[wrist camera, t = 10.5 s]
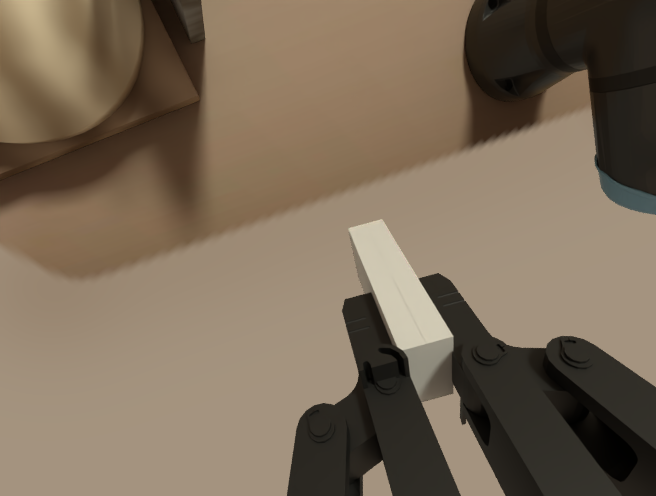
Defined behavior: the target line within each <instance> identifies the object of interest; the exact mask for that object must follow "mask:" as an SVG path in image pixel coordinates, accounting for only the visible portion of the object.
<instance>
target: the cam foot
mask: <svg viewBox="0 0 656 496" xmlns="http://www.w3.org/2000/svg"><path fill="white" fill-rule="evenodd" d="M144 43H145V28H144V19H143V12H142V7H141V3H140V0H0V142H4V143H22V144H36V143H47V142H54V141H59V140H63V139H68V138H71V137H74V136H76V135H79V134H82V133H84V132H86V131H88V130H90V129H92V128H94V127H96V126H97V125H99V124H100V123H102V122H103V121H104V120H106V119H107V118H108V117H110V116H111V115H112V114H113V113H114V112H115V111H116V110H117V109H118V108H119V107H120V106H121V105H122V103H123V102H124V101H125V99H126V98H127V96H128V95H129V93H130V92H131V90H132V88H133V86H134V84H135V82H136V80H137V77H138V74H139V71H140V68H141V65H142V59H143V53H144Z"/></svg>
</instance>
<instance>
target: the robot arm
mask: <svg viewBox="0 0 656 496" xmlns="http://www.w3.org/2000/svg"><path fill="white" fill-rule="evenodd" d="M466 53H467V59H468V63H469V66H470V69H471V72H472V74H473V76H474V78H475V80H476V82H477V83H478V85H479V86H480V87H481V88H482V89H483V90H484V91H485V92H486V93H487V94H488V95H490V96H491V97H493V98H495V99H498V100H501V101H516V100H521V99H526V98H530V97H533V96H535V95H538V94H540V93H542V92H543V91H545V90H546V89H548V88H550V87H551V86H553V85H555V84H556V83H558V82H560V81H561V80H563V79H564V78H566V77H568V76H569V75H571V74H573V73H574V72H578V71H582V70H586V69H587V70H588V79H589V88H590V99H591V109H592V118H593V127H594V137H595V146H596V155H595V166H596V168H597V170H598V172H599V177H600V183H601V188H602V189H603V191H604V193H605V194H606V195H607V197H608V198H609V199H610V200H612V201H613V202H615V203H616V204H618V205H620V206H623V207H625V208H628V209H631V210H635V211H638V212H643V213H649V214H655V215H656V0H475V2H474V4H473V7H472V9H471V12H470V15H469V19H468V23H467V29H466ZM348 230H349V235H350V240H351V245H352V249H353V254H354V259H355V263H356V269H357V273H358V277H359V280H360V283H361V285H362V288H363V291H364V293H365V294H363V295H359V296H356V297H353V298H349V299H345V301H344V305H343V309H342V312H343V316H344V319H345V323H346V327H347V331H348V335H349V339H350V342H351V346H352V349H353V353H354V357H355V360H356V364H357V368H358V372H359V377H358V382H357V384H356V387H355V388H354V390H353V391H352V392H351V393H350V394H349V395H348V396H347V397H346V398H344V399H343V400H341V401H340V402H338V403H337V404H335V405H332V404H325V403H322V404H318V405H314V406H313V407H311V408H310V409H308V410H307V411H306V412H305V413H304V414H303V416H302V417H301V418H300V420H299V423H298V426H297V430H296V437H295V443H294V451H293V457H292V464H291V471H290V478H289V485H288V492H287V496H363V475H364V474H365V473H366V472H367V471H369V470H370V469H372V468H373V467H374V466H375V465H377V464H378V463H379V462H381V461H382V460H383V462H384V466H385V469H386V473H387V476H388V480H389V484H390V488H391V491H392V495H393V496H461V495H460V493H459V491H458V488H457V486H456V483H455V481H454V479H453V477H452V474H451V472H450V469H449V467H448V464H447V462H446V460H445V457H444V455H443V453H442V450H441V448H440V445H439V443H438V441H437V438H436V436H435V434H434V431H433V429H432V426H431V424H430V422H429V419H428V417H427V415H426V412H425V410H424V408H423V406H422V403H421V402H424V401H428V400H431V399H435V398H438V397H442V396H446V395H449V394H453V384H454V386H455V388H456V390H457V392H458V394H459V396H460V397H461V400H460V419H461V422H462V424H465V423H466V419H467V421H468V423H469V425H470V427H471V429H472V431H473V433H474V435H475V437H476V438H477V441H478V443H479V445H480V446H481V448H482V450H483V452H484V454H485V456H486V458H487V460H488V462H489V464H490V466H491V468H492V470H493V472H494V474H495V476H496V478H497V479H498V482H499V484H500V486H501V488H502V490H503V491H504V493H505V495H506V496H656V387H655V386H653V385H652V384H650V383H649V382H647V381H646V380H645V379H643V378H641V377H640V376H639V375H637V374H636V373H634V372H633V371H632V370H630V369H629V368H627V367H626V366H624V365H623V364H621V363H620V362H619V361H617V360H616V359H614V358H613V357H611V356H610V355H608V354H607V353H606V352H604V351H603V350H601V349H599V348H598V347H597V346H595V345H594V344H592V343H590V342H588V341H586V340H584V339H581V338H577V337H573V336H560V337H557V338H555V339H552V340H551V341H550V342H549V343H548V344H547V347H546V348H519V347H512V346H509V345H506V344H505V343H504V342H503V341H500V340H499V339H497V338H494V337H492V336H491V335H490V334H489V333H488V331H487V330H486V329H485V327H484V326H483V325H482V323H481V322H480V320H479V319H478V318H477V316H476V315H475V314H474V312H473V311H472V309H471V308H470V307H469V305H468V304H467V303H466V301H464V299H463V297H462V296H461V294H460V293H458V290H457V289H456V288H455V286H454V285H453V283H452V282H451V281H450V280H449V279H447V278H445V277H444V276H442V275H441V274H439V273H437V274H434V275H430V276H426V277H422V278H419V279H418V277H417V276H416V274H415V273H414V271H413V269H412V268H411V266H410V265H409V263H408V261H407V259H406V258H405V256H404V255H403V253H402V251H401V250H400V248H399V246H398V245H397V243H396V242H395V240H394V238H393V236H392V235H391V233H390V232H389V230H388V228H387V227H386V225H385V223H384V222H383V220H382V219H381V220H378V221H374V222H370V223H366V224H363V225H359V226H355V227H352V228H348Z"/></svg>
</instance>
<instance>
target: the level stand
mask: <svg viewBox="0 0 656 496" xmlns="http://www.w3.org/2000/svg"><path fill="white" fill-rule="evenodd" d="M140 3H141V7H142V12H143V19H144V28H145V43H144V53H143V59H142V65H141V68H140V71H139V74H138V77H137V80H136V82H135V84H134V86H133V88H132V90H131V92H130V93H129V95H128V96H127V98H126V99H125V101H124V102H123V103H122V105H121V106H120V107H119V108H118V109H117V110H116V111H115V112H114V113H113V114H112V115H111V116H110V117H108V118H107V119H106V120H104V121H103V122H102V123H100V124H99V125H97V126H96V127H94V128H92V129H90V130H88V131H86V132H84V133H82V134H79V135H76V136H74V137H71V138H68V139H63V140H59V141H54V142H47V143H36V144H22V143H4V142H0V180H2V179H4V178H7V177H9V176H12V175H14V174H17V173H19V172H22V171H24V170H27V169H29V168H32V167H34V166H37V165H39V164H42V163H44V162H47V161H49V160H52V159H54V158H57V157H59V156H62V155H64V154H67V153H69V152H72V151H74V150H77V149H79V148H82V147H84V146H87V145H89V144H92V143H94V142H97V141H99V140H102V139H104V138H107V137H109V136H112V135H114V134H117V133H119V132H122V131H124V130H127V129H129V128H132V127H135V126H137V125H140V124H142V123H145V122H147V121H150V120H152V119H155V118H157V117H160V116H162V115H165V114H167V113H170V112H172V111H175V110H177V109H180V108H182V107H185V106H187V105H190V104H192V103H195V102H197V101H200V99H199V96H198V94H197V92H196V90H195V88H194V86H193V84H192V82H191V80H190V78H189V76H188V74H187V72H186V70H185V68H184V66H183V64H182V62H181V60H180V58H179V56H178V54H177V52H176V50H175V48H174V45H173V43H172V41H171V39H170V37H169V35H168V33H167V31H166V29H165V27H164V25H163V23H162V21H161V19H160V17H159V15H158V13H157V11H156V9H155V7H154V5H153V3H152V1H151V0H140ZM171 3H172V5H173V7H174V9H175V11H176V13H177V15H178V17H179V19H180V21H181V23H182V25H183V27H184V30H185V32H186V34H187V36H188V38H189V40H190V42H191V43H194V42H197V41H200V40H202V39H205V32H204V23H203V14H202V5H201V0H171Z"/></svg>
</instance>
